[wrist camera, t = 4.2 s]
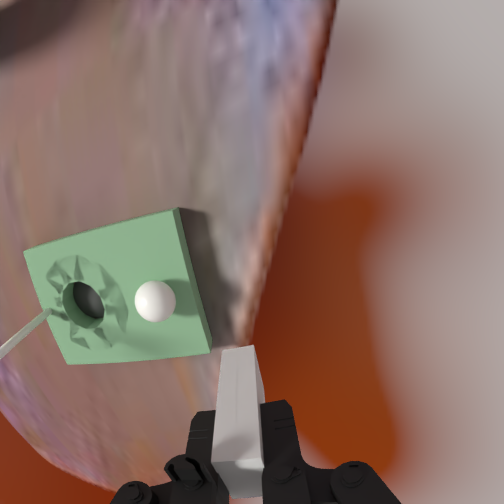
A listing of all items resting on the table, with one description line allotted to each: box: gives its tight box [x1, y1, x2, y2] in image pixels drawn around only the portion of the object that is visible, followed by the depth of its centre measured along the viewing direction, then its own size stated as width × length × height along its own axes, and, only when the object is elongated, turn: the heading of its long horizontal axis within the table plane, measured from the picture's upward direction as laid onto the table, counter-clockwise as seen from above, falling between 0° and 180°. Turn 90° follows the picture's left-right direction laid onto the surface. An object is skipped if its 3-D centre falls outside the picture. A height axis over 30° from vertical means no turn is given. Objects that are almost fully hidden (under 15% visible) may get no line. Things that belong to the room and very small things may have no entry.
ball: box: [135, 280, 176, 322], centre depth 24 cm, size 4×4×4 cm
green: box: [0, 207, 213, 364], centre depth 20 cm, size 21×14×16 cm
